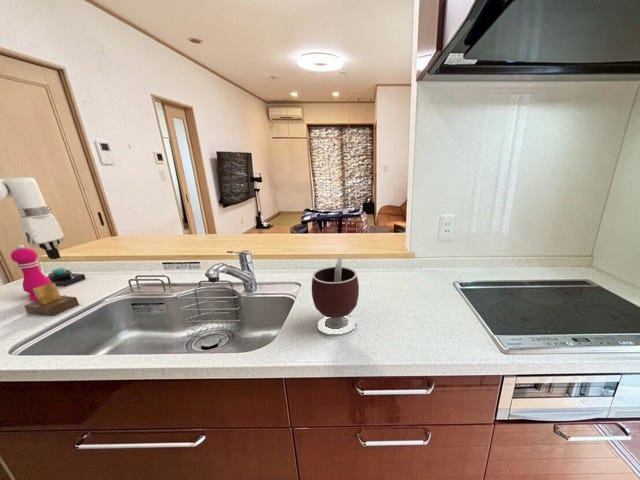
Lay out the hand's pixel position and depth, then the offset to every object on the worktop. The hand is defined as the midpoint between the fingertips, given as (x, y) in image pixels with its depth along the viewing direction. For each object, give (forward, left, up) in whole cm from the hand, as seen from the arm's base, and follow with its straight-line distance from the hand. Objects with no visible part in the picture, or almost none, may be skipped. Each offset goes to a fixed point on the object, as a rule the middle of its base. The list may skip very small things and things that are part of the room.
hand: (55, 258), depth 117 cm
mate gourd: (+119, -14, -10) cm, 120 cm away
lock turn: (+22, -20, -7) cm, 31 cm away
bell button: (0, 0, -6) cm, 7 cm away
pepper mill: (+8, -13, -10) cm, 19 cm away
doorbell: (0, 0, -10) cm, 10 cm away
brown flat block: (+22, -20, -10) cm, 31 cm away
